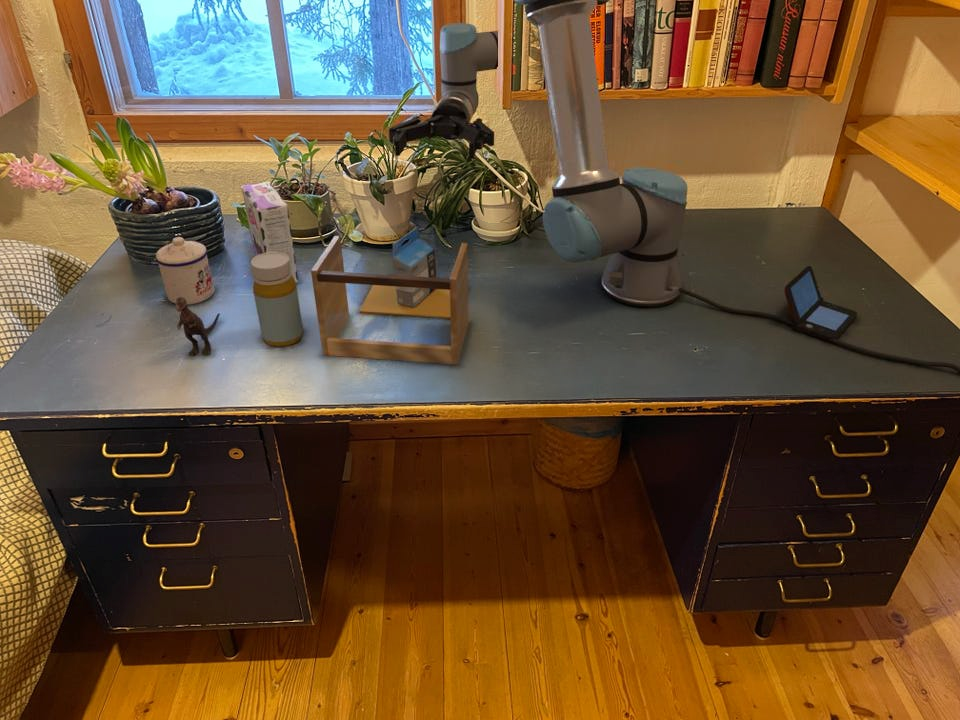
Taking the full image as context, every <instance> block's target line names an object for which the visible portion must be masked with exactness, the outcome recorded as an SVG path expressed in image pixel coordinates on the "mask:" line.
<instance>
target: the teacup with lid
mask: <svg viewBox="0 0 960 720" xmlns="http://www.w3.org/2000/svg"><path fill="white" fill-rule="evenodd" d="M155 261H156V262H157V263H158V267H159V271H160V275H161V279H162V283H163V286H164V289H165V293H166V297H167V299H168V301H170V302H171V303H173V304H175V305H176V299H177V298H179V297H184V298H185V300H186V301H187V306H188V305H196V304H198V303H199V304H200V303H202V302H205V301H206V300H208V299H210V298H211V297H212V296H213V295H214V293H215V285H214V281H213V276H212V272H211V268H210V263H209V259H208V249H207V248H206V246H205V245H204V244H203V243H202V242H201V243H200V242H198V241H193V240H185V239H184V238H183V237H181V236H177V237H174V238H173V239H172V241H171V243H169V244H167V245H164V246H162V247H161V248H159V249H158V250H157V251H156V253H155Z"/></svg>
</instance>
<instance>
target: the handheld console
mask: <svg viewBox="0 0 960 720" xmlns="http://www.w3.org/2000/svg"><path fill="white" fill-rule="evenodd" d="M783 290H784V291H783V292H784V296H785V298H786V302H787V305H788V308H789V311H790V314H791V317H792V320H793V322H795V323H794V325H793V326H792V329H793V330H795V331H799V332H801V333H804V334H806V335H810V336H813V337H816V338H819V339H821V340H825V341H827V342H830V341H831V340H832V339H837V340H839V338H840V337H841V336H842V335H843V333H844V332H845V331H846V330H847V328H849V326H851V324H852V323H853V322H854V320H856V318H857V316H858V312H857V311H856V310H853V309H850V308H847V307H844V306H841V305H838V304H836V303H831V302H828V301H827V300H824V297H822V294H821V291H820V290H819V286H818V281H817V278H816V276H815V272H814V269H813V267H812V266H811V265H807V266H806V267H805V268H803V269H802V271H800V272H799V273H798V274H797V275H796V276H795V277H794V278H792V280H790V281H789V282H788V283H787V284H786V285H785V286H784V289H783Z"/></svg>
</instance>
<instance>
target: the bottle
mask: <svg viewBox="0 0 960 720" xmlns="http://www.w3.org/2000/svg"><path fill="white" fill-rule="evenodd" d="M250 267H251V272H252V275H253V283H252V292H253V296H254V302H255V307H256V312H257V313H256V314H257V317H258V318H257V319H258V324H259V328H260V333H261V337H262V340H263V341H264V342H265V343H266V344H268V345H269V346H272V347H276V348H282V347H288V346H292V345H294V344H297V343H298V342H299V341H300V340H301V338H302V337H303V336H304V326H303V320H302V313H301V308H300V301H299V294H298V287H297V283H296V282H295V280H294V278H293V277H292V273H291V265H290V259H289V257H288V256H287V255H286V254H284V253H280V252H268V253H263V254H260V255H257V256H254V257H253V258H252V259H251V260H250Z"/></svg>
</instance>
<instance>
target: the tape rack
mask: <svg viewBox="0 0 960 720" xmlns="http://www.w3.org/2000/svg"><path fill="white" fill-rule="evenodd" d="M341 239H342V238H341V235H334V236H333V237H332V239H331V241H330V242H329V244H328V245H327V246H326V248H325V249H324V251H323V253H322V254H321V255H320V256H319V258H318V260H317V261H316V263H315V264H314V265H313V267H312V268H311V270H310V275H311V280H312V288H313V289H312V290H313V295H314V303H315V308H316V316H317V323H318V324H317V325H318V331H319V338H320V344H321V345H320V346H321V352H322V356H327V357H328V356H331V357H332V356H333V357H345V358H346V357H347V358H357V359H358V358H359V359H360V358H361V359H371V360H372V359H373V360H385V361H387V360H388V361H398V362H399V361H400V362H401V361H402V362H414V363H427V364H439V365H440V364H442V365H452V366H458V364H459V361H460V357H461V353H462V349H463V346H464V343H465V342H464V341H465V340H466V339H465V338H466V334H467V331H468V326H469V249H468V247H469V244H468V243H467V242H461V244H460V247H459V250H458V253H457V256H456V260H455V262H454V265H453V268H452V271H451V275H450V277H449V278H446V277H436V278H432V277H416V276H399V275H395V274H380V273H366V272H364V273H363V272H350V271H349V272H348V271H345V266H344V257H343V247H342V241H341ZM347 284H349V285H351V284H352V285H366V286H373V285H381V286H397V287H413V288H429V289H445V290H450V318H451V319H450V345H440V344H439V345H437V344H423V343H411V342H410V343H408V342H398V341H397V342H395V341H383V340H382V341H381V340H369V339H356V338H355V339H353V338H340V335H341V333H342V331H343V329H344V327H345V325H346V324H347V321H348V320H349V318H350V310H349V301H348V292H347Z"/></svg>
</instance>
